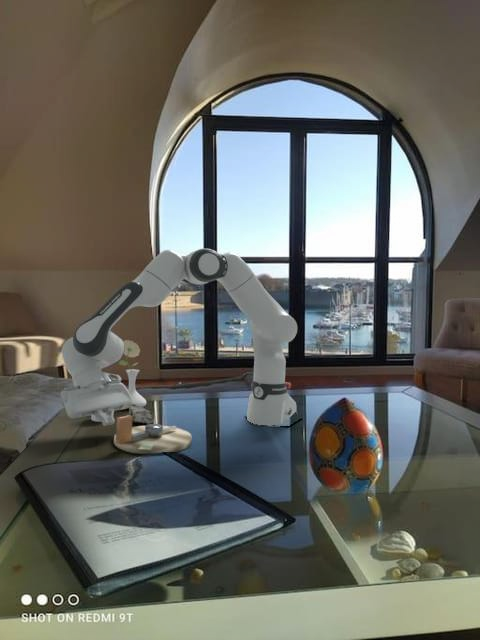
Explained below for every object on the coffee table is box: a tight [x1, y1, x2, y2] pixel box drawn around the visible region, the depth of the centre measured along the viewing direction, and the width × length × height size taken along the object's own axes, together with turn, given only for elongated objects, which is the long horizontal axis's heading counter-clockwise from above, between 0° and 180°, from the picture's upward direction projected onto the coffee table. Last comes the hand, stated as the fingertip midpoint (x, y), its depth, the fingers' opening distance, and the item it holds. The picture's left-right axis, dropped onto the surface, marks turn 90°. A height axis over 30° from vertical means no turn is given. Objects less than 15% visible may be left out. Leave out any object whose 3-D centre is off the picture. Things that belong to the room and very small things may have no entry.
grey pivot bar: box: [115, 414, 178, 444], centre depth 128 cm, size 21×5×7 cm, turn 141°
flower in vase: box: [118, 339, 147, 409], centre depth 168 cm, size 13×11×25 cm
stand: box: [113, 425, 193, 455], centre depth 130 cm, size 22×22×2 cm
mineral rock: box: [128, 404, 155, 425], centre depth 151 cm, size 15×8×4 cm, turn 17°
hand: (109, 424), depth 129 cm, fingers closed
